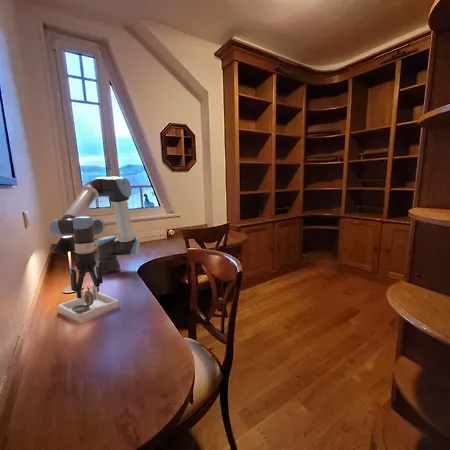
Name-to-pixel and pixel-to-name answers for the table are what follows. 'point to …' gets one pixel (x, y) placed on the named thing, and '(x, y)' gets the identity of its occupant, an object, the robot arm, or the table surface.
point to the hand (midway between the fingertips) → (88, 301)
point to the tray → (95, 310)
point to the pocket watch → (88, 300)
